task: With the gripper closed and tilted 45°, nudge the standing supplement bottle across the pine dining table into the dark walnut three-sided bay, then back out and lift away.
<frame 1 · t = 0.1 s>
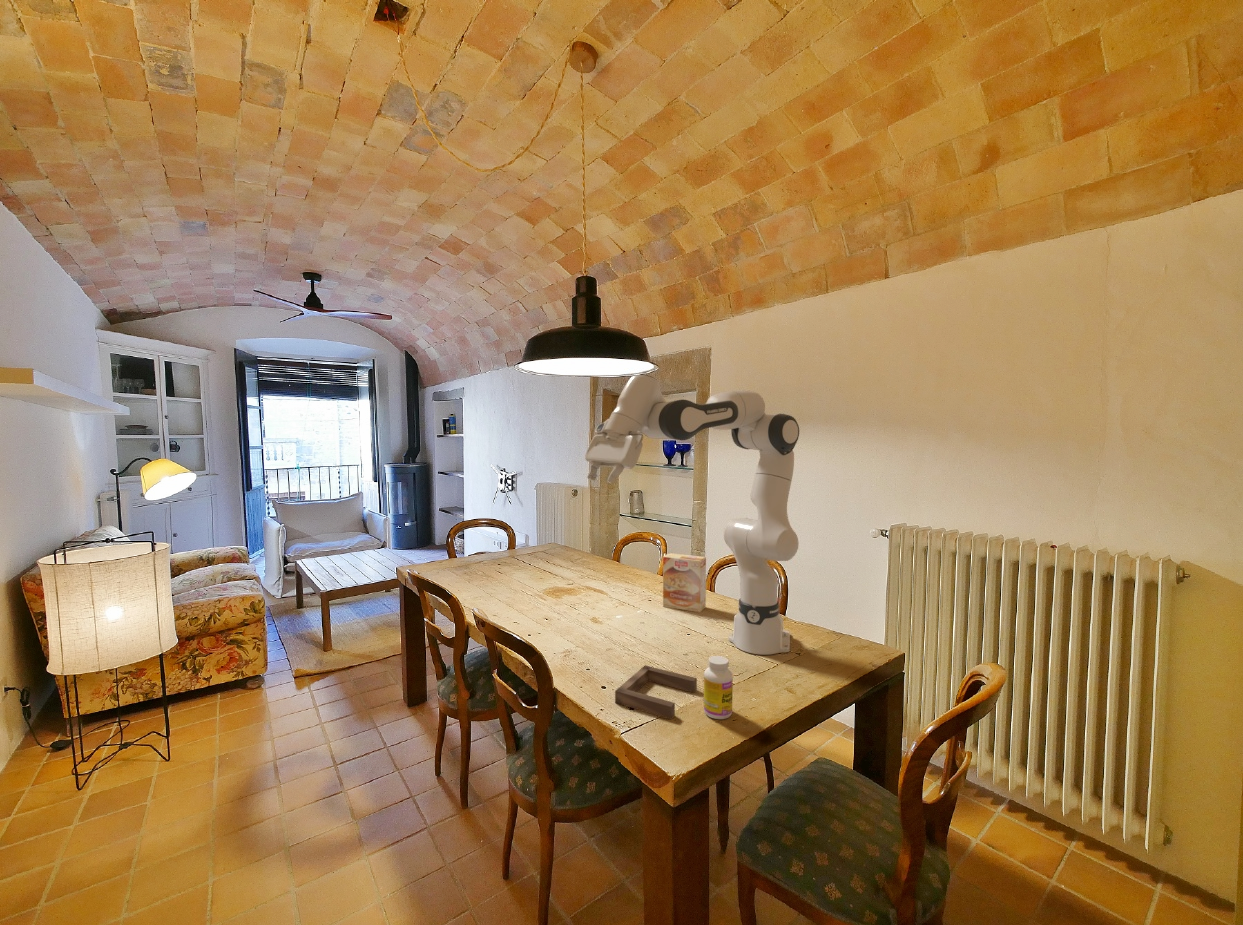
hand: (599, 480, 128), 54 cm above the table, tool tilted 30°, fingers open, 8 cm apart
supplement bottle: (718, 713, 122), on the table
bay: (660, 696, 129), on the table
coffeecake box: (684, 607, 196), on the table
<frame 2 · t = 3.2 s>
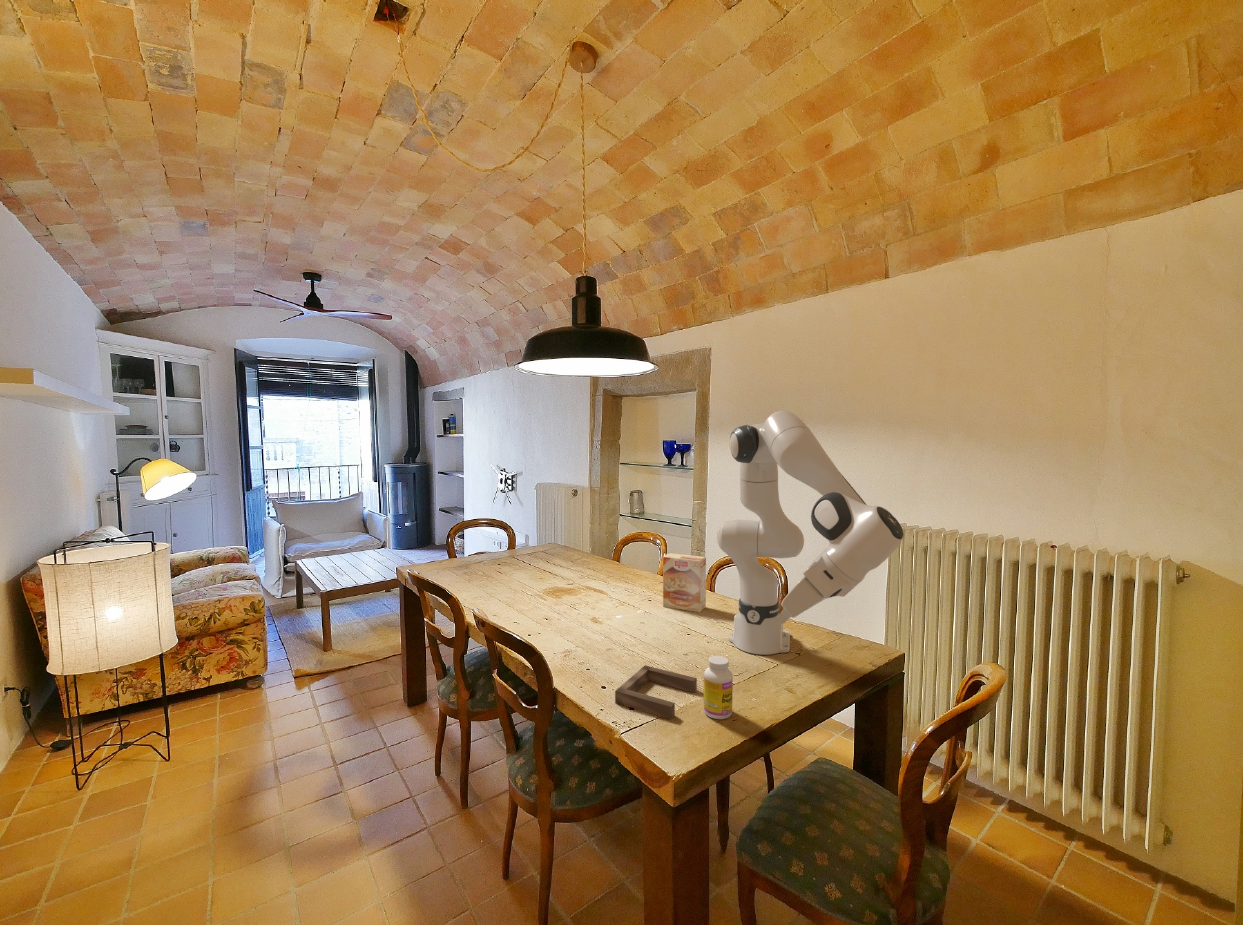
hand: (787, 616, 110), 27 cm above the table, tool tilted 40°, fingers open, 8 cm apart
nothing on the table moved.
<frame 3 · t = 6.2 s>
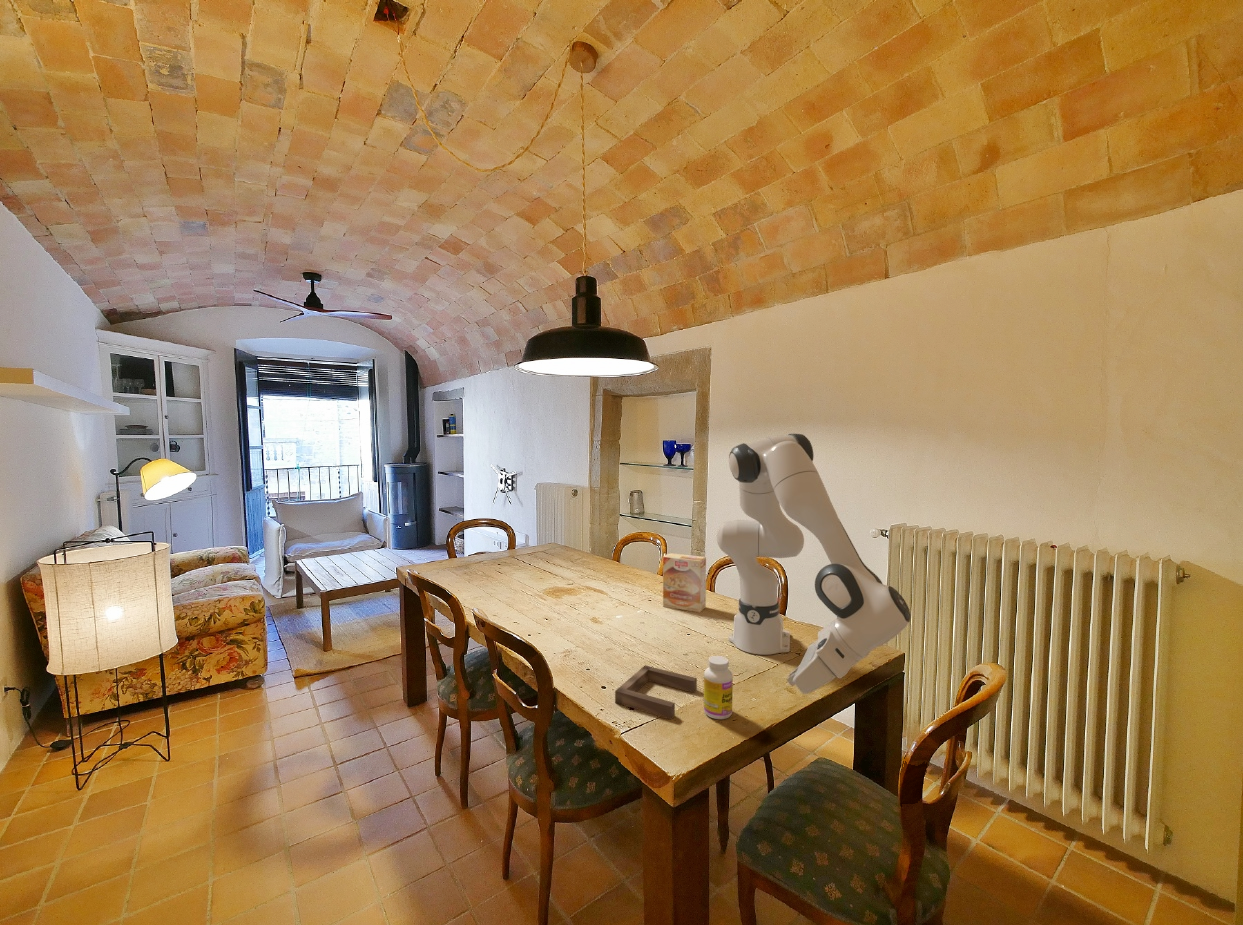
hand: (790, 680, 113), 12 cm above the table, tool tilted 45°, fingers closed
nothing on the table moved.
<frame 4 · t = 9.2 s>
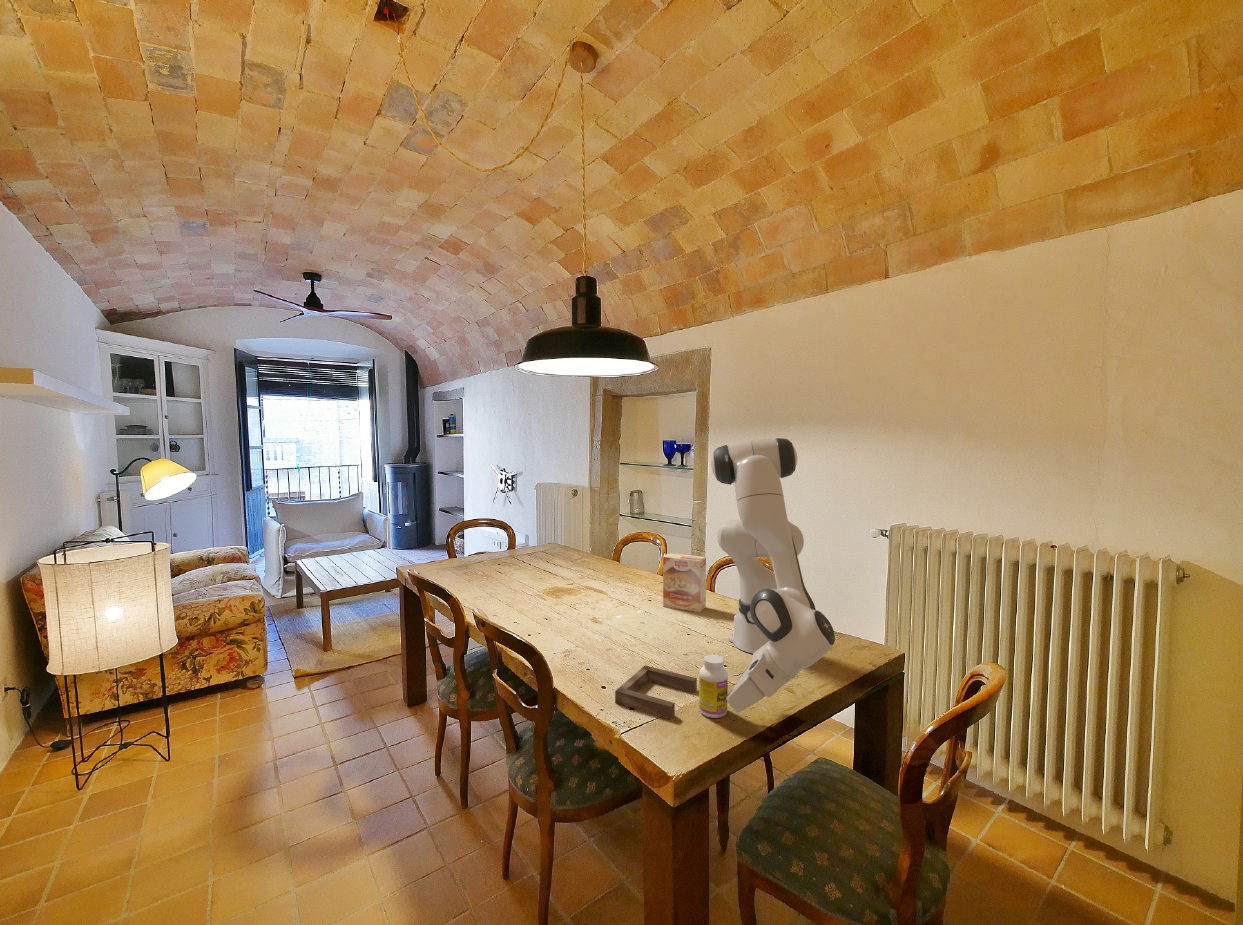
hand: (729, 698, 120), 4 cm above the table, tool tilted 45°, fingers closed, pressing on supplement bottle
supplement bottle: (713, 712, 122), on the table, touching gripper
everything else where it was.
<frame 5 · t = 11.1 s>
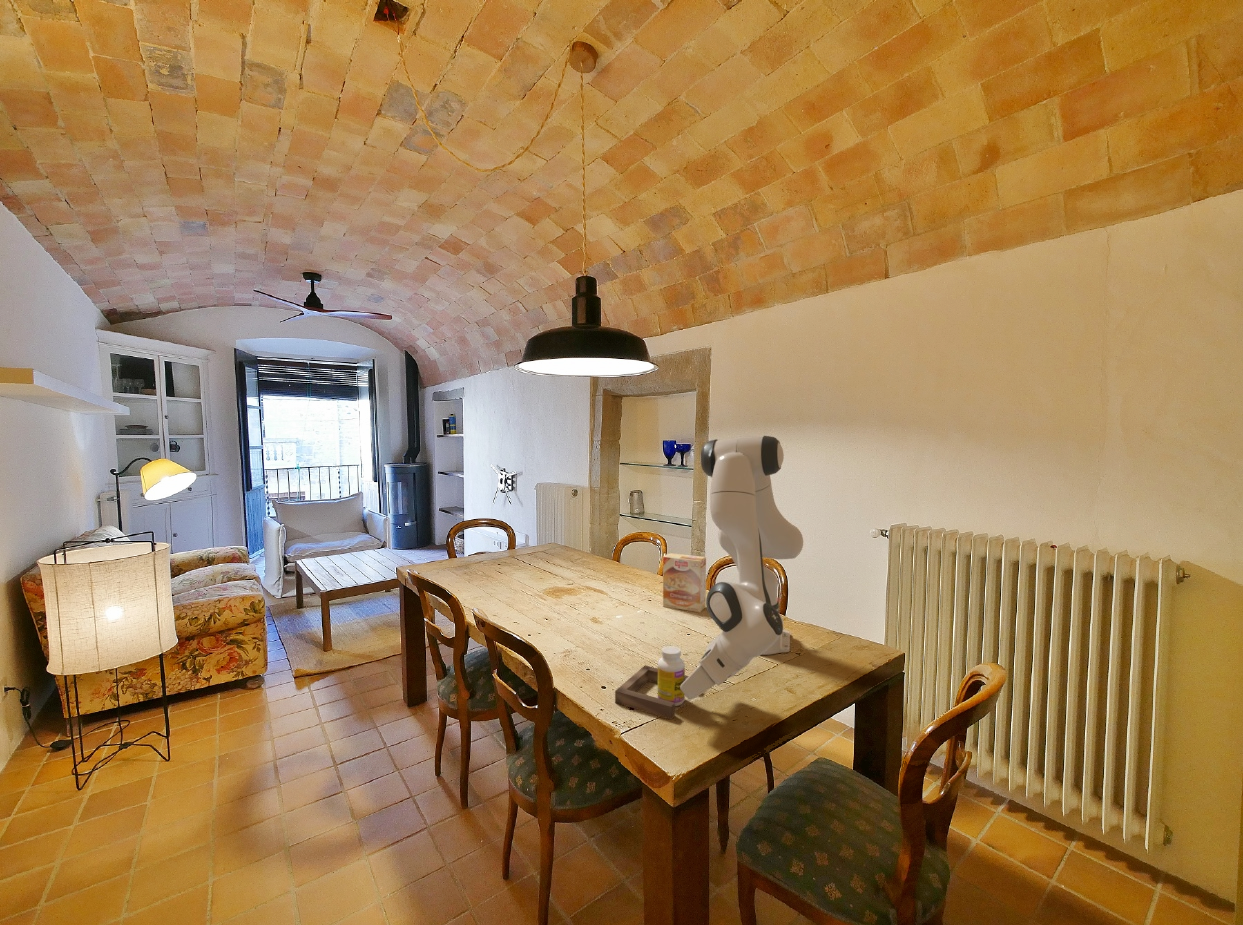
hand: (686, 687, 126), 4 cm above the table, tool tilted 45°, fingers closed, pressing on supplement bottle
supplement bottle: (671, 701, 128), on the table, touching gripper
everything else where it was.
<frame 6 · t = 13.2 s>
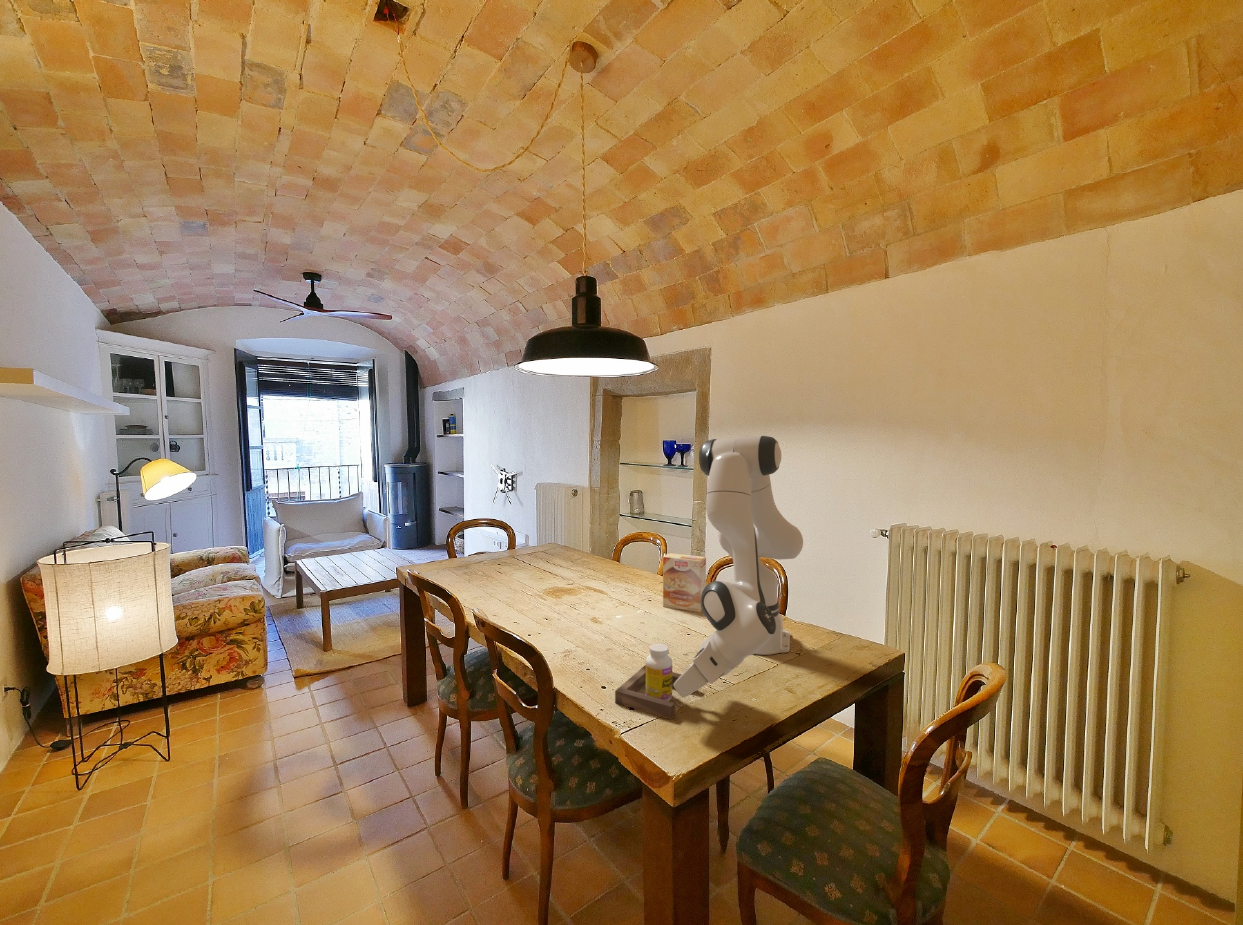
hand: (680, 684, 127), 4 cm above the table, tool tilted 45°, fingers closed
supplement bottle: (658, 698, 129), on the table
everything else where it was.
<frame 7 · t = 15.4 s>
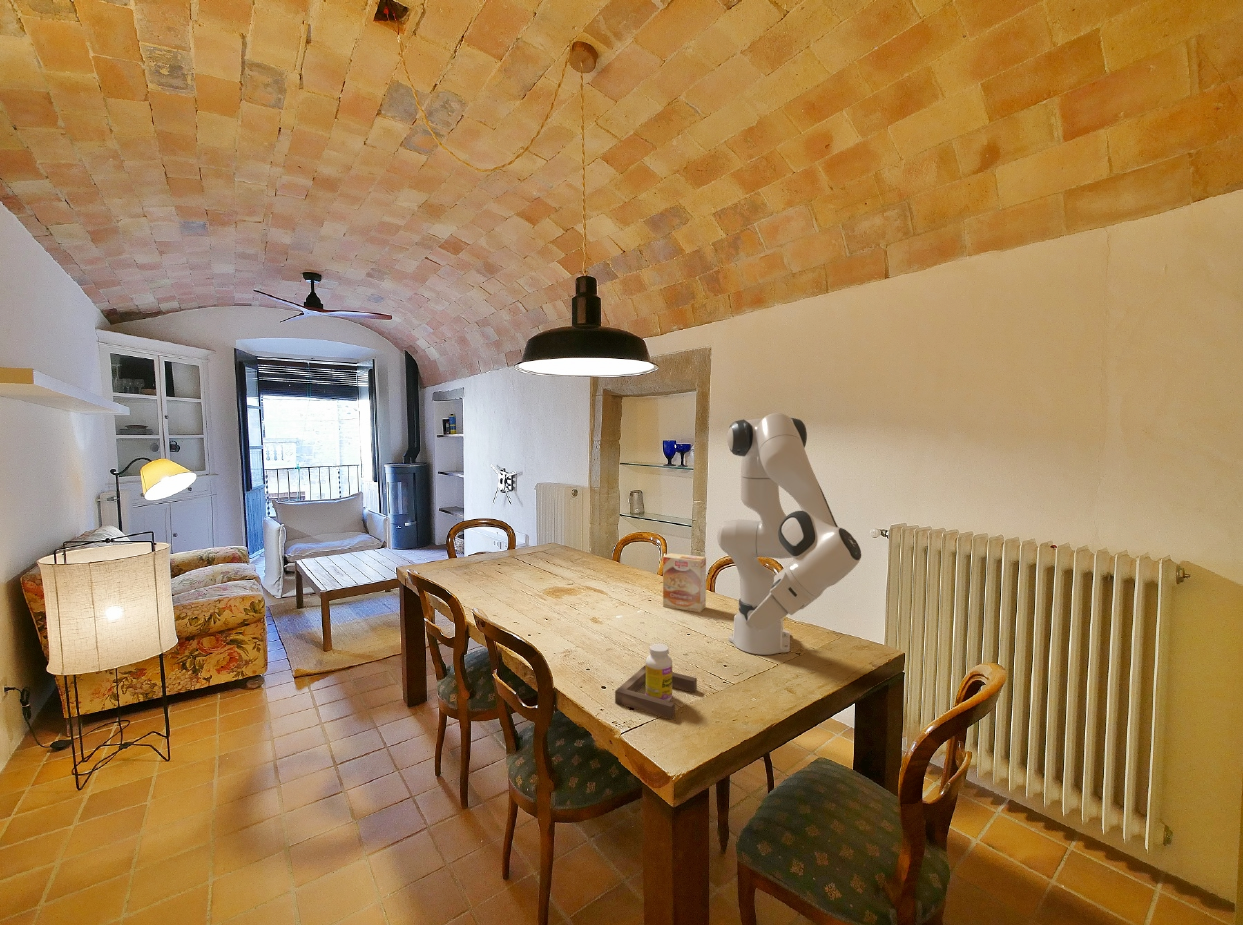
hand: (749, 623, 117), 23 cm above the table, tool tilted 45°, fingers closed
nothing on the table moved.
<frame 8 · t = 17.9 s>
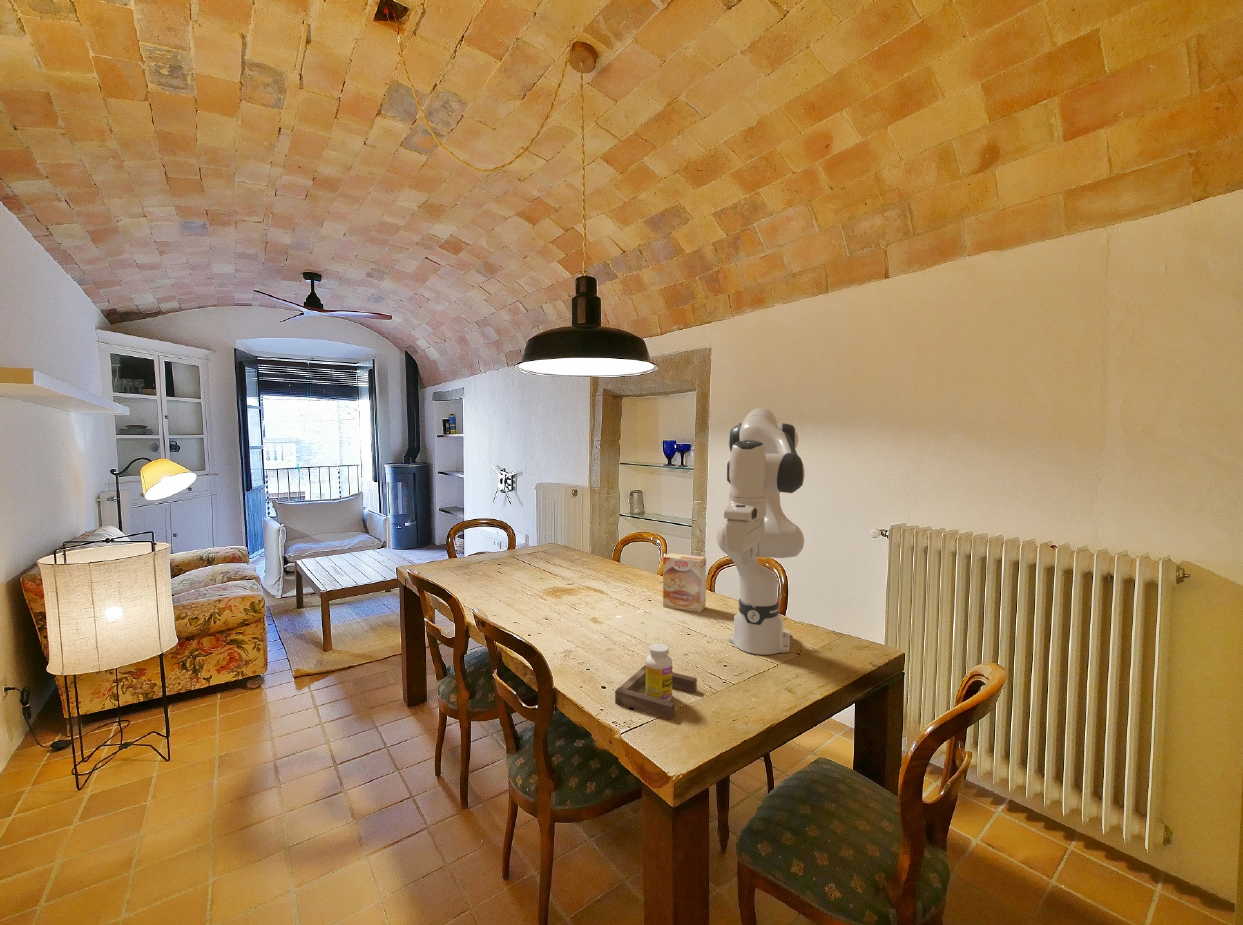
hand: (746, 564, 126), 34 cm above the table, tool pointing down, fingers closed
nothing on the table moved.
at the end: supplement bottle inside the target area on the bay (0.5 cm from its centre), point 0.0 cm above the bay's base; supplement bottle tilted 0° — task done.
